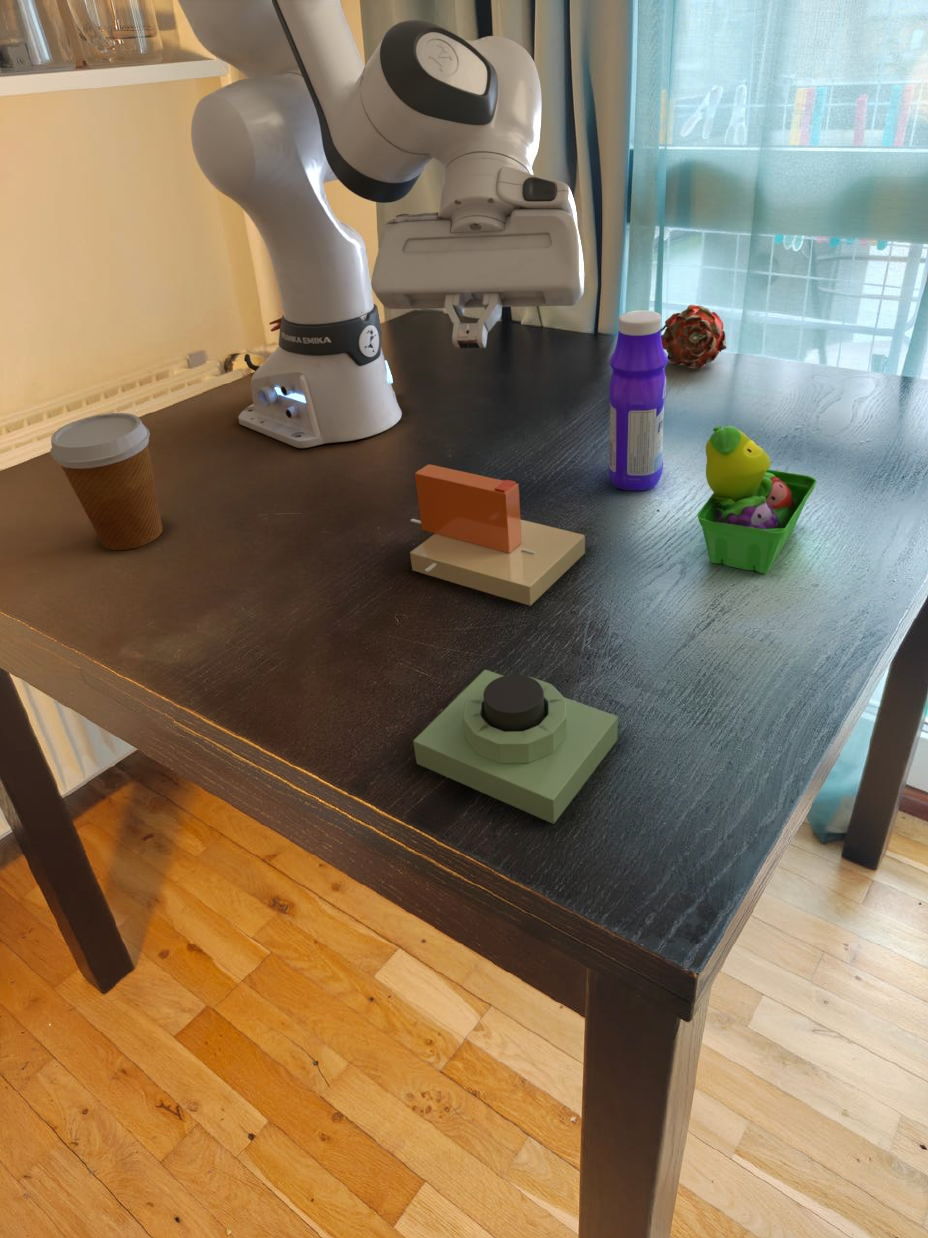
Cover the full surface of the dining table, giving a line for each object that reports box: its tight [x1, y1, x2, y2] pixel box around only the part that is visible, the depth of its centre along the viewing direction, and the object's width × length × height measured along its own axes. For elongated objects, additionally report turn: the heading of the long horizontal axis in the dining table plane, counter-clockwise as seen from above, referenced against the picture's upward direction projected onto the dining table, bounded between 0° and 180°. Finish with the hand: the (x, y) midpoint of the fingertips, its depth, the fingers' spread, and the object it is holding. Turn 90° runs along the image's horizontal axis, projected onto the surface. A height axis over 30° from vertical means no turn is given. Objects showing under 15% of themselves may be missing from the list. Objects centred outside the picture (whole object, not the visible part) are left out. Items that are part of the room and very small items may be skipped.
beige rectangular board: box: [409, 518, 586, 606], centre depth 83 cm, size 17×14×2 cm
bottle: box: [608, 309, 669, 491], centre depth 89 cm, size 7×6×17 cm
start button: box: [483, 674, 544, 732], centre depth 58 cm, size 4×4×2 cm
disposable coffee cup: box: [49, 412, 163, 551], centre depth 90 cm, size 10×10×12 cm
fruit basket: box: [697, 425, 818, 575], centre depth 78 cm, size 11×9×11 cm
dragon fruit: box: [661, 304, 727, 370], centre depth 120 cm, size 8×8×12 cm
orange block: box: [414, 463, 522, 553], centre depth 81 cm, size 10×2×6 cm, turn 55°
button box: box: [412, 669, 619, 825], centre depth 60 cm, size 11×9×4 cm
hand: (468, 345), depth 82 cm, fingers closed
